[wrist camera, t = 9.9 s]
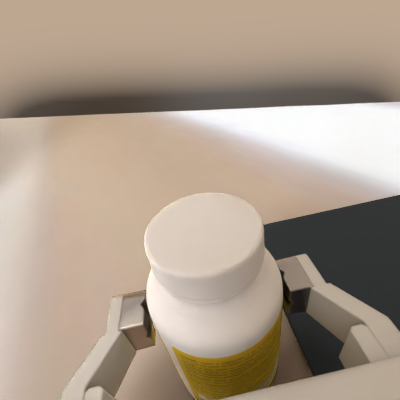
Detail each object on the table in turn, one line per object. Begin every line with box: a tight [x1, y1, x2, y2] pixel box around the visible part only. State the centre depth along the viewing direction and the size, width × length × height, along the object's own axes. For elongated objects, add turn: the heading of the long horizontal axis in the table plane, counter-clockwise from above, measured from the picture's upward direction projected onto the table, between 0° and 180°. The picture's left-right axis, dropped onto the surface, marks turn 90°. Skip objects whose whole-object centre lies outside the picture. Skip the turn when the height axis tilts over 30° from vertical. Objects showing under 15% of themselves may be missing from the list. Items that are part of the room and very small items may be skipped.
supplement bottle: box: [144, 192, 283, 400], centre depth 11 cm, size 5×5×10 cm
